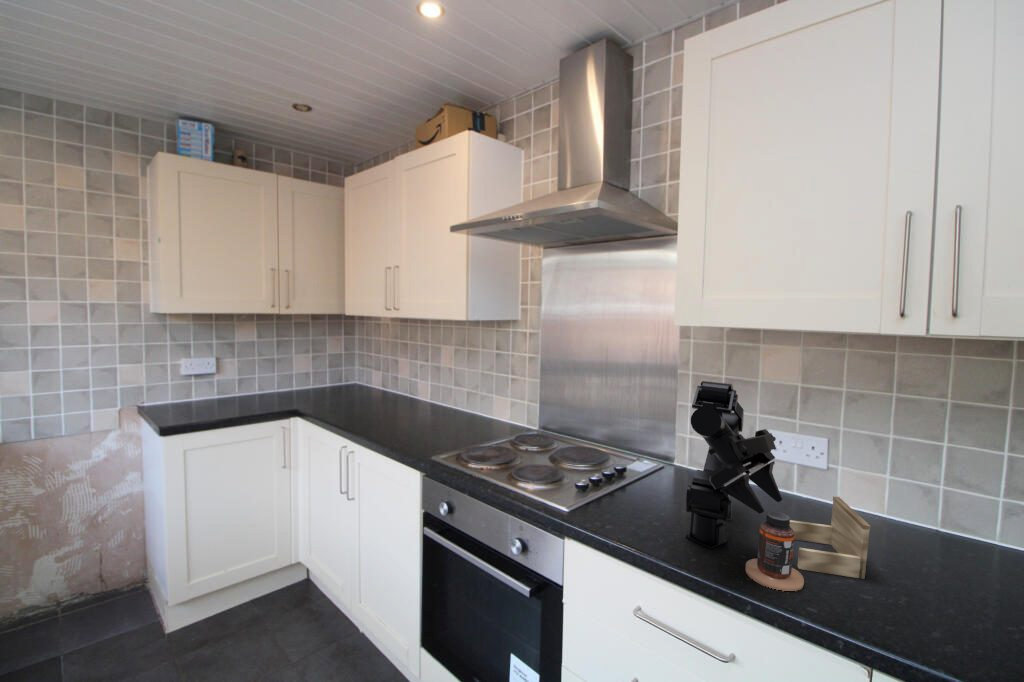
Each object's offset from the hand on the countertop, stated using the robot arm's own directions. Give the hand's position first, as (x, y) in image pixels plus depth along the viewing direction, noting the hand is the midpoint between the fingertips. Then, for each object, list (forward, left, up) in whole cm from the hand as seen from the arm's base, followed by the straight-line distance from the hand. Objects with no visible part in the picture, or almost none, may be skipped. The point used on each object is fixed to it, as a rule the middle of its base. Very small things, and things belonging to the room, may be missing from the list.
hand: (771, 506), depth 95 cm
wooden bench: (+3, +17, -14) cm, 22 cm away
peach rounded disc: (+1, 0, -14) cm, 14 cm away
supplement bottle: (+1, 0, -13) cm, 13 cm away
